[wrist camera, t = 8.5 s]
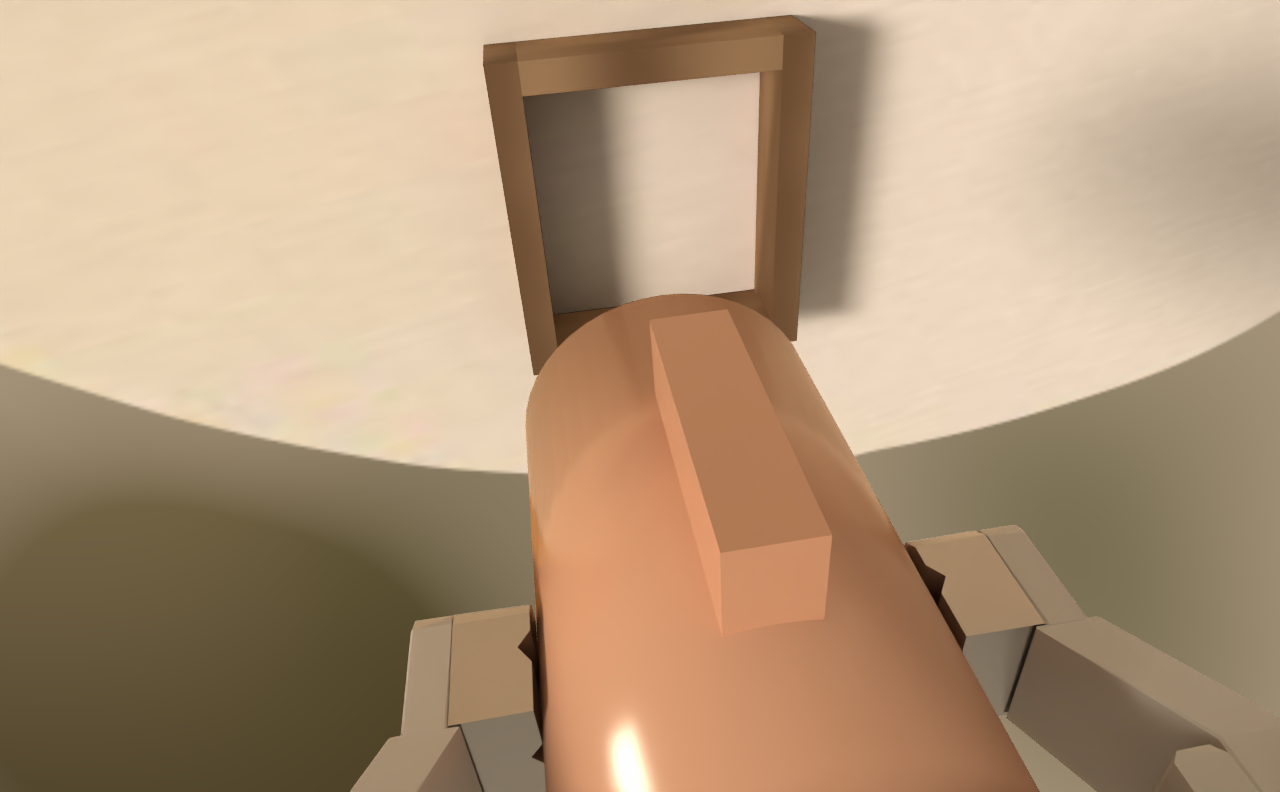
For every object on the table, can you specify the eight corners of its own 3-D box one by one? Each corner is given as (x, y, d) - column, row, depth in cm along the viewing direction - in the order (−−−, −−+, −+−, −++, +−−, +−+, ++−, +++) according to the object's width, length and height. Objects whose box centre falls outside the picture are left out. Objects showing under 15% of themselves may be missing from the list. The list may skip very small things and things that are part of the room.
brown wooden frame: (791, 15, 27) (816, 31, 25) (778, 308, 33) (796, 340, 31) (483, 44, 26) (483, 65, 24) (531, 340, 33) (533, 375, 31)
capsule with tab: (818, 210, 13) (1158, 636, 6) (801, 501, 16) (1003, 961, 10) (489, 252, 12) (489, 752, 6) (547, 541, 16) (585, 1047, 9)
